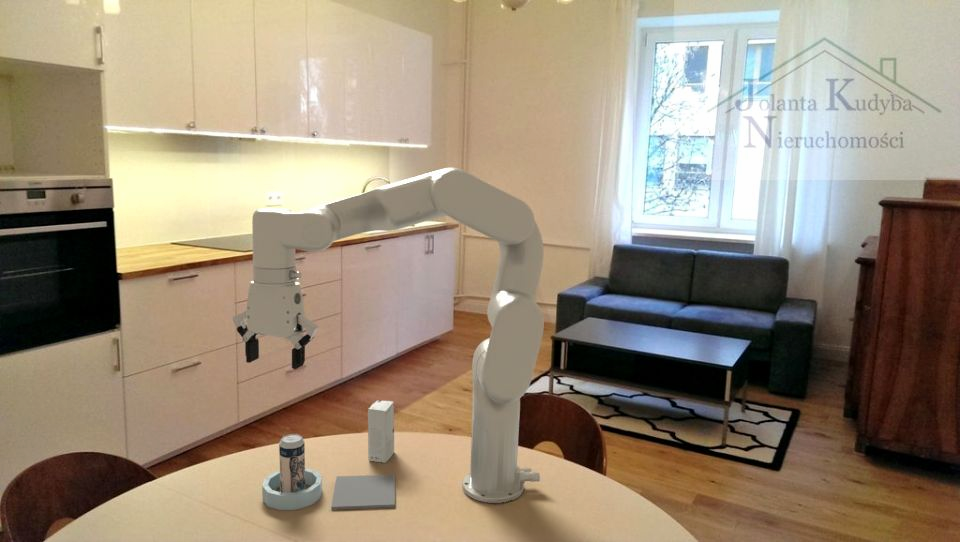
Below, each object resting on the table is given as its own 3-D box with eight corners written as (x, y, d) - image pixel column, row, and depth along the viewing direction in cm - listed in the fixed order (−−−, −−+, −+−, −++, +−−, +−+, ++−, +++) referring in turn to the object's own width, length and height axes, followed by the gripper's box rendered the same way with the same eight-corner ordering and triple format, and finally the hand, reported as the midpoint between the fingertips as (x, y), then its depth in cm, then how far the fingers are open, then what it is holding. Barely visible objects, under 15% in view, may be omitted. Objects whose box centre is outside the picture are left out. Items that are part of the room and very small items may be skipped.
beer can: (298, 503, 128) (297, 444, 126) (275, 499, 129) (274, 441, 127) (309, 490, 133) (308, 434, 130) (287, 487, 133) (286, 431, 131)
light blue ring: (324, 480, 137) (324, 467, 136) (318, 508, 126) (318, 494, 125) (269, 482, 135) (268, 468, 135) (258, 511, 125) (257, 496, 124)
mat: (394, 477, 139) (394, 474, 139) (394, 507, 127) (394, 504, 127) (336, 479, 138) (336, 476, 137) (331, 509, 126) (331, 506, 126)
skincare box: (386, 463, 145) (386, 411, 143) (366, 461, 146) (367, 409, 144) (395, 451, 151) (395, 401, 149) (376, 449, 152) (376, 399, 150)
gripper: (326, 276, 124) (325, 363, 127) (245, 268, 128) (246, 352, 131) (306, 283, 117) (305, 376, 120) (221, 274, 121) (223, 364, 124)
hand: (275, 363), depth 125 cm, fingers open, 9 cm apart
